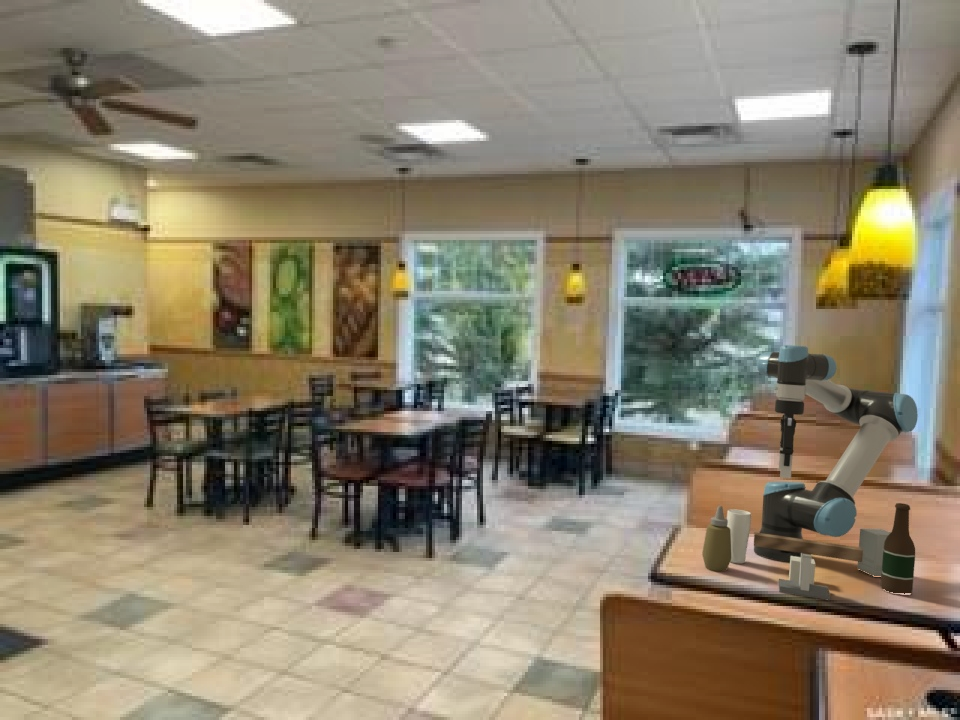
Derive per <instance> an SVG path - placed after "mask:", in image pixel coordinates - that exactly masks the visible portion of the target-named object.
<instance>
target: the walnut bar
mask: <svg viewBox="0 0 960 720" xmlns="http://www.w3.org/2000/svg"><path fill="white" fill-rule="evenodd" d="M753 535H754V537H753V547H754V546H758V547H765V548H771V549H778V550H785V551H791V552H798V553H805V554H811V556H819V557H826V558H830V559H831V558H833V559H838V560H845V561H851V562H857V563H858V562H862V557H863V550H862V548H860V547H859V546H852V545H846V544H839V543H832V542H825V541H818V540H811V539H798V538H791V537H784V536H777V535H770V534H763V533H759V532H754V534H753Z"/></svg>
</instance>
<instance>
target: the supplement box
mask: <svg viewBox="0 0 960 720" xmlns="http://www.w3.org/2000/svg"><path fill="white" fill-rule="evenodd" d="M891 532H892V531H887V530H885V529H882V528H859V542H858V547H860V548H862V550H863V557H862V562H858V561H857V566H856V567H857V568H858V569H860V570H862V571H865V572H867V573H869V574H871V575H874V576H881V574H882V561H883V548H884V542H885V540H886V538H887V536H888V535H889V534H890V533H891ZM857 568H856V569H857Z"/></svg>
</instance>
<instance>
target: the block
mask: <svg viewBox="0 0 960 720" xmlns="http://www.w3.org/2000/svg"><path fill="white" fill-rule="evenodd" d="M800 561H801V557H796V556H790V562H789V571H788V572H789V573H788V580H790V581H796V582H799V575H800ZM815 572H816V561H815V559H814V558H811V571H810V584H815Z"/></svg>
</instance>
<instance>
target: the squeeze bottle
mask: <svg viewBox="0 0 960 720" xmlns="http://www.w3.org/2000/svg"><path fill="white" fill-rule="evenodd" d="M727 525H728V520H727V518H726V517H725V516H724V508H723V506H722V505H718V506H717V508H716V512H715V515H714V516H713V517H710V524H708V525H706V530H705V536H704V542H703V546H702V547H703V548H702V554H701V555H702V558H703V563H704V567H705V568H707V569H709V570H711V571H714V572H725V571H727V570H728V567H729V565H730V563H731V562H730V561H731V530H730V528H729V527H727Z"/></svg>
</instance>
